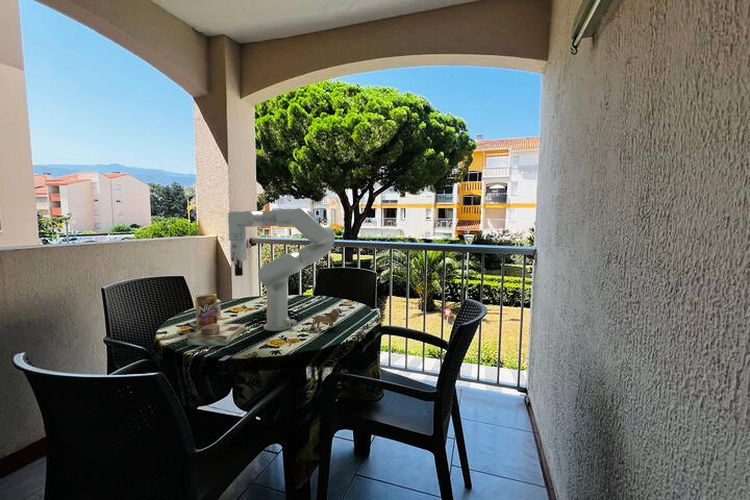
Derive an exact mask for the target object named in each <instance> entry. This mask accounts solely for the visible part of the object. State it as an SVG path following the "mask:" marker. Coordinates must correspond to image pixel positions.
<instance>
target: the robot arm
mask: <svg viewBox="0 0 750 500" xmlns="http://www.w3.org/2000/svg"><path fill="white" fill-rule="evenodd" d="M227 214H228V215H227V220H228V221H227V222H228V241H229V242H230V252H229V253H230V262H233V265H234V276H235V277H241V276H244V273H243V271H244V270H243V266H244V261H246V260H248V259H247V258H248V257H247V256H248V255H247V245H246V244H247V243H246V240H247V235H246V233H247V232H246V231H247V230H246V228H247V227H248V228H250V227H251V228H252V227H253V228H254V227H255V228H256V227H278V228H295V229H296V230H298V232H299V233H300V234H301V235H303V236H304V237H305V238H306V239H307V240H308V241H309V242H310V243H309V244H306V245H305V246H304V247H300V248H299V249H298V250H295V251H291V252H287V253H285V254H282V255H280V256H278V257H277V258H274V259H273V260H272V261H269V262H268V263H266V264H264V265H263V266H261V267H260V268H259V270H258V274H257V277H258V280H259V281H260V283H261V284H263V285H265V286H267V287H266V323H265V324H264V325H263V329H264V330H265V331H268V332H270V331H271V332H280V331H286V330H288V329H290V328H291V326H292V325H294V326H295V325H297V324H298V323H297V322H298V321H297V320H295V319H291V318H290V316H288V311H289V310H288V295H289V294H288V285H289V277H290V276H292V275H294V274H296V273H299V272H300V271H302V270H303V269H305V268H306V267H309V266H310V265H313V263H315V262H317V261H318V260H320V259H322V258H324V257H325V256H327V255H328V253H330V251H331V250H332V249H333V247H334V245H335V240H336V235H335V231H334V229H333V228H332V227H331V226H329V225H326V224H320V223H319V222H318V221H316V219H315V215H314V213H313V211H312V210H311V209H309V208H306V207H305V208H304V207H297V208H278V209H275V210H244V211H239V210H238V211H237V210H236V211H229V212H228V213H227Z"/></svg>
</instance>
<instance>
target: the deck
mask: <svg viewBox="0 0 750 500" xmlns="http://www.w3.org/2000/svg"><path fill="white" fill-rule="evenodd" d="M215 325H219V327H220V334H219V335H201V329H200V330H199V331H197V332H195V333H194V334H187V335H186V338H187V346H227V345H228V344H230V343H231V342H233V340H235V339H236V338H237V337H238V336H239V335H240V334H242V333H243V332H244V331H245V330H246V324H244V323H217V324H215Z"/></svg>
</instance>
